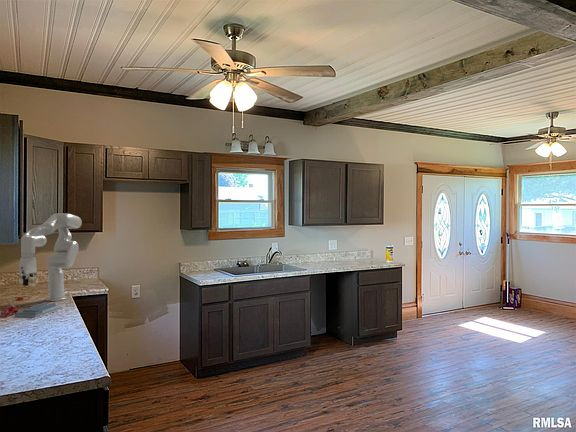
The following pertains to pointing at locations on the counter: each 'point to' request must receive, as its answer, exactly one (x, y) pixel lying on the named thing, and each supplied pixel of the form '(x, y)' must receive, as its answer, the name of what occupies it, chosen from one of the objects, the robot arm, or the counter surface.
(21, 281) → the tan long rectangular block
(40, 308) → the board
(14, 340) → the counter surface
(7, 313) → the toy fire truck
